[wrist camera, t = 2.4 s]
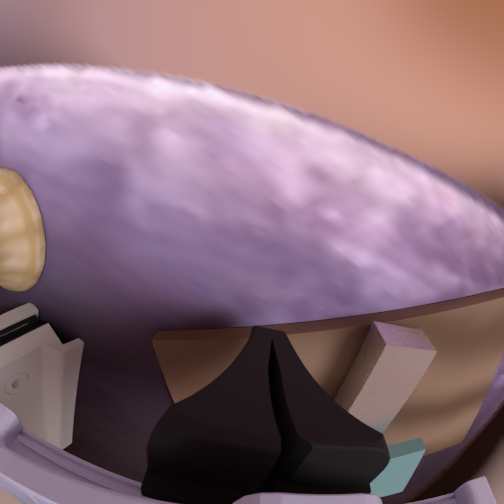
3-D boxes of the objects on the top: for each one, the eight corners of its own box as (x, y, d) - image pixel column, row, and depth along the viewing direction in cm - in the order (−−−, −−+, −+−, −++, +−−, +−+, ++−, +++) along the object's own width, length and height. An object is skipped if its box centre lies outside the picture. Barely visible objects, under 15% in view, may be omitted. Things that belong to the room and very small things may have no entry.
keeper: (391, 454, 17) (403, 496, 13) (229, 471, 19) (223, 516, 14) (407, 405, 16) (428, 455, 11) (213, 427, 17) (202, 481, 13)
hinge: (71, 444, 22) (5, 488, 12) (43, 411, 23) (-23, 448, 13) (85, 338, 16) (-45, 396, 7) (47, 294, 18) (-71, 330, 8)
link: (338, 464, 17) (341, 485, 15) (287, 461, 17) (287, 484, 15) (428, 330, 13) (444, 351, 12) (364, 319, 13) (376, 343, 11)
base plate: (457, 434, 18) (461, 442, 17) (211, 471, 20) (210, 480, 19) (511, 286, 14) (520, 292, 13) (157, 330, 16) (151, 340, 15)
